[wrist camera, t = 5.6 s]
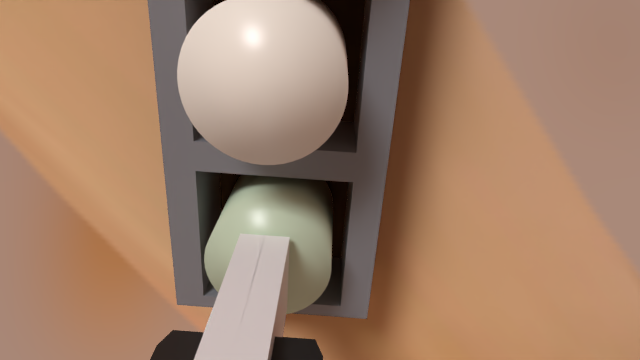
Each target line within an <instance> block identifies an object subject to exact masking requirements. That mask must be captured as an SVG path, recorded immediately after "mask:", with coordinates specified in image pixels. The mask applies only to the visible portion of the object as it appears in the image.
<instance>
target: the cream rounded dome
mask: <svg viewBox="0 0 640 360" xmlns="http://www.w3.org/2000/svg"><path fill="white" fill-rule="evenodd" d="M177 82H178V89H179V94H180V98H181V101H182V104H183V107H184V109H185V112H186V114H187V115H188V117H189V119H190V121H191V123H192V124H193V125H194V127H195V128H196V129H197V131H198V132H199V133H200V134H201V135H202V136H203V137H204V138H205V139H206V140H207V141H208V142H209V143H210V144H211V145H212V146H214V147H215V148H217V149H218V150H220V151H221V152H223V153H225V154H226V155H228V156H230V157H232V158H235V159H238V160H240V161H243V162H247V163H251V164H259V165H278V164H285V163H289V162H293V161H295V160H298V159H301V158H303V157H305V156H307V155H309V154H311V153H312V152H314V151H315V150H316V149H318V148H319V147H320V146H321V145H322V144H324V143H325V142H326V141H327V140H328V138H329V137H330V136H331V135H332V134H333V132H334V131H335V129H336V128H337V126H338V124H339V122H340V120H341V118H342V116H343V113H344V110H345V107H346V103H347V97H348V67H347V52H346V42H345V38H344V34H343V31H342V29H341V26H340V24H339V22H338V20H337V18H336V17H335V15H334V14H333V13H332V11H331V10H330V9H329V8H328V7H327V6H326V4H325V3H323V2H322V1H321V0H226V1H224V2H221V3H219V4H217V5H216V6H214V7H213V8H211V9H210V10H208V11H207V12H206V13H205V14H204V15H202V16H201V17H200V18H199V19H198V20H197V22H196V23H195V24H194V25H193V26H192V28H191V29H190V31H189V33H188V34H187V36H186V38H185V40H184V43H183V45H182V47H181V51H180V55H179V59H178V67H177Z"/></svg>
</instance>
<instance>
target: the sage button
mask: <svg viewBox="0 0 640 360" xmlns="http://www.w3.org/2000/svg"><path fill="white" fill-rule="evenodd" d="M332 230H333V198H332V194H331V191H330V189H329V186H328V185H327V183H326V181H325V180H314V179H300V178H286V177H272V176H258V175H244V174H241V176H240V177H239V178H238V180H237V182H236V183H235V185H234V188H233V190H232V192H231V194H230V196H229V198H228V200H227V202H226V204H225V206H224V209H223V211H222V213H221V215H220V217H219V219H218V221H217V223H216V225H215V228H214V230H213V232H212V234H211V236H210V238H209V240H208V243H207V245H206V248H205V254H204V264H205V270H206V273H207V276H208V278H209V280H210V282H211V284H212V285H213V287H214V288H215V289H216V291H217V292H218V293H219V290H220V287H221V285H222V282H223V279H224V276H225V274H226V271H227V268H228V266H229V263H230V260H231V257H232V255H233V252H234V249H235V247H236V244H237V241H238V238H239V236H240V233H241V234H255V235H268V236H282V237H290V245H289V272H288V300H287V312H286V314H291V313H294V312H297V311H299V310H302V309H304V308H306V307H308V306H309V305H311V304H312V303H313V302H315V301H316V300H317V299H318V298H319V297H320V296H321V295H322V293H323V292H324V290H325V289H326V287H327V285H328V282H329V279H330V275H331V262H332Z"/></svg>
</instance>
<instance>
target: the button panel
mask: <svg viewBox="0 0 640 360" xmlns="http://www.w3.org/2000/svg"><path fill="white" fill-rule="evenodd" d="M409 3H410V0H365V10H364V20H363V31H362V41H361V51H360V62H359V72H358V83H357V93H356V104H355V114H354V122H348V121H340V122H339V124H338V126H337V128H336V129H335V131H334V132H333V134H332V135H331V136H330V137H329V138H328V140H327V141H326V142H325V143H324V144H322V145H321V146H320V147H319V148H318V149H316V150H315V151H314V152H312V153H311V154H309V155H307V156H305V157H303V158H301V159H298V160H295V161H293V162H289V163H285V164H278V165H259V164H251V163H247V162H243V161H240V160H238V159H235V158H232V157H230V156H228V155H226V154H225V153H223V152H221V151H220V150H218V149H217V148H215V147H214V146H212V145H211V144H210V143H209V142H208V141H207V140H206V139H205V138H204V137H203V136H202V135H201V134H200V133H199V132H198V131H197V129H196V128H195V127H194V125H193V124H192V123H191V121H190V119H189V117H188V115H187V114H186V112H185V109H184V107H183V104H182V101H181V98H180V94H179V89H178V82H177V67H178V59H179V55H180V51H181V47H182V45H183V43H184V40H185V38H186V36H187V34H188V33H189V31H190V29H191V28H192V26H193V25H194V24H195V23H196V22H197V20H198V19H199V18H200V17H201V16H202V15H204V14H205V13H206V12H207V11H208V10H210V9H211V8H213V0H148V8H149V19H150V29H151V39H152V50H153V60H154V70H155V81H156V91H157V101H158V112H159V122H160V132H161V143H162V153H163V163H164V174H165V184H166V194H167V205H168V215H169V226H170V236H171V246H172V257H173V267H174V277H175V288H176V298H177V305H188V306H201V307H213V306H214V304H215V301H216V298H217V295H218V292H217V291H216V289H215V288H214V287H213V285H212V284H211V282H210V280H209V278H208V276H207V273H206V270H205V264H204V254H205V248H206V245H207V243H208V240H209V238H210V236H211V234H212V232H213V230H214V228H215V225H216V223H217V221H218V219H219V217H220V215H221V193H220V173H230V174H244V175H258V176H272V177H286V178H300V179H314V180H328V181H342V182H348V187H347V198H346V208H345V219H344V229H343V240H342V250H341V258H336V257H332V262H331V275H330V279H329V282H328V285H327V287H326V289H325V290H324V292H323V293H322V295H321V296H320V297H319V298H318V299H317V300H316V301H315V302H313V303H312V304H311V305H309V306H308V307H306V308H304V309H302V310H299V311H297V312H294V313H295V314H308V315H322V316H335V317H348V318H362V319H367V314H368V307H369V300H370V292H371V285H372V277H373V270H374V262H375V255H376V248H377V240H378V233H379V225H380V218H381V211H382V203H383V196H384V188H385V181H386V174H387V166H388V159H389V151H390V144H391V136H392V129H393V122H394V114H395V107H396V99H397V92H398V85H399V77H400V70H401V62H402V55H403V48H404V40H405V33H406V25H407V18H408V10H409Z"/></svg>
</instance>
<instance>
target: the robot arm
mask: <svg viewBox="0 0 640 360" xmlns="http://www.w3.org/2000/svg"><path fill="white" fill-rule="evenodd" d="M289 245H290V237H282V236H268V235H255V234H241V233H240V236H239V238H238V241H237V244H236V247H235V249H234V252H233V255H232V257H231V260H230V263H229V266H228V268H227V271H226V274H225V276H224V279H223V282H222V285H221V287H220V290H219V293H218V295H217V298H216V301H215V304H214V306H213V309H212V312H211V314H210V317H209V320H208V323H207V325H206V328H205V331H204V332H190V331H177V330H173V331H172V332H170V334H169V335H167V336H166V337H165V338H164V339H163V340H162V341H161V342H160V343H159V344H158V345H157V347H156V348H155V351H154V353H153V355H152V357H151V359H150V360H323V356H322V353H321V351H320V349H319V347H318V345H317V342H316V340H315V339H302V338H288V337H283V332H284V326H285V319H286V312H287V300H288V272H289Z"/></svg>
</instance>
